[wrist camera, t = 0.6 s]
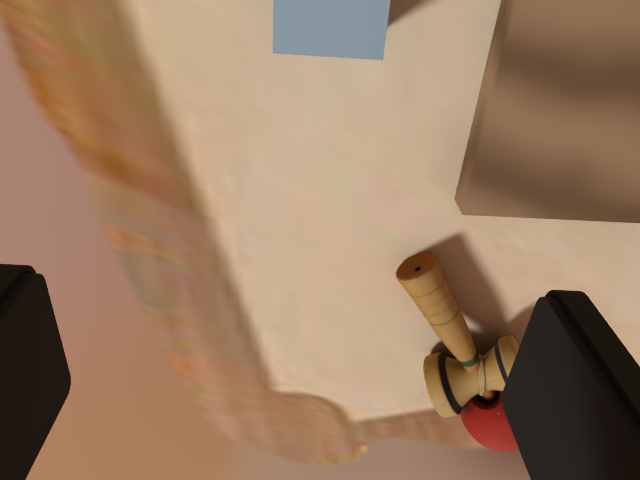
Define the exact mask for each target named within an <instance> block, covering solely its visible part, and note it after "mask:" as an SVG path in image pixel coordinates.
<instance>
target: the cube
mask: <svg viewBox="0 0 640 480" xmlns="http://www.w3.org/2000/svg"><path fill="white" fill-rule="evenodd" d="M390 1H391V0H274V5H273V53H276V54H292V55H309V56H325V57H341V58H358V59H374V60H383V56H384V48H385V40H386V32H387V24H388V16H389V8H390Z"/></svg>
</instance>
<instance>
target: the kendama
mask: <svg viewBox="0 0 640 480" xmlns="http://www.w3.org/2000/svg"><path fill="white" fill-rule="evenodd" d="M396 277H397V279H398V281H399V282H400V283H401V284H402V286H403V287H404V288H405V290H406V291H407V292H408V293H409V295H410V296H411V298H412V299H413V301H414V302H415V303H416V305H417V306H418V308H419V309H420V311H421V312H422V313H423V315H424V316H425V318H426V319H427V321H428V322H429V323H430V325H431V327H432V328H433V329H434V331H435V332H436V334H437V335H438V336H439V338H440V339H441V340H442V342H443V343H444V344H445V345H446V347H447V348H448V349H449V350H450V351H451V352H452V354H453V355H454V356H455V357H456V358H457V359H454V358H450V357H448V356H447V355H444V354H443V353H441V352H438V353H435V354H432V355H429V356H426V357H425V360H424V365H423V371H424V378H425V382H426V386H427V390H428V393H429V396H430V398H431V401H432V403H433V405H434V407H435V409H436V410H437V412H438V413H439V414H440V415H441V416H442V417H444V418H448V417H453V416H458V415H459V414H460V413H461V418H462V421H463V423H464V425H465V427H466V429H467V431H468V432H469V433H470V435H471V436H472V437H473V438H474V439H475V440H476V441H478V442H479V443H480V444H482V445H484V446H486V447H488V448H491V449H494V450H500V451H510V450H515V449H518V445H517V443H516V440H515V438H514V435H513V433H512V430H511V428H510V425H509V423H508V420H507V418H506V415H505V413H504V410H503V406H502V393H503V389H504V387H505V384H506V381H507V379H508V376H509V373H510V371H511V368H512V365H513V363H514V360H515V358H516V355H517V352H518V350H519V344H518V343H517V341H516V339H515V338H514V337H513V336H512V335H508V336H503V337H500V338H499V339H498V340H497V342H496V344H495V345H494V347H493V348H492V349H491V350H490V351H489V352H488V353H486V354H484V355H483V356H482V355H480V354H479V355H478V354H477V351H476V348H475V345H474V342H473V339H472V337H471V334H470V331H469V329H468V326H467V324H466V322H465V319H464V317H463V315H462V313H461V311H460V309H459V307H458V304H457V302H456V300H455V298H454V296H453V294H452V292H451V289H450V287H449V286H448V283H447V281H446V279H445V277H444V275H443V272H442V270H441V267H440V265H439V262H438V260H437V258H436V256H435V255H434V254H433V253H429V252H425V253H419V254H416V255H414V256H412V257H410V258H408V259H407V260H405V261H404V262H403V263H402V264H401V265H400V266H399V268H398V269H397V271H396Z"/></svg>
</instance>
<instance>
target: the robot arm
mask: <svg viewBox="0 0 640 480" xmlns="http://www.w3.org/2000/svg"><path fill="white" fill-rule="evenodd" d="M70 385H71V377H70V372H69V368H68V364H67V361H66V357H65V353H64V349H63V345H62V342H61V338H60V334H59V330H58V327H57V323H56V319H55V315H54V311H53V307H52V304H51V300H50V296H49V293H48V288H47V285H46V281H45V278H44V277H43V275H42V274H36V272H35V270H34V269H33V267H32V266H28V265H10V264H0V480H25V479H26V477H27V475H28V473H29V471H30V469H31V467H32V465H33V463H34V461H35V459H36V457H37V456H38V454H39V452H40V450H41V448H42V446H43V444H44V442H45V440H46V438H47V436H48V434H49V432H50V430H51V428H52V426H53V424H54V422H55V420H56V418H57V416H58V414H59V412H60V410H61V408H62V406H63V404H64V402H65V400H66V398H67V396H68V393H69V390H70ZM502 406H503V410H504V413H505V415H506V418H507V420H508V423H509V425H510V428H511V430H512V433H513V435H514V438H515V440H516V443H517V445H518V448H519V450H520V453H521V455H522V458H523V460H524V463H525V466H526V468H527V470H528V473H529V475H530V478H531V480H640V366H639V365H638V364H637V362H636V361H635V360H634V358H633V357H632V356H631V354H630V353H629V352H628V350H627V349H626V348H625V346H624V345H623V343H622V342H621V341H620V339H619V338H618V337H617V335H616V334H615V333H614V331H613V330H612V329H611V327H610V326H609V325H608V323H607V322H606V320H605V319H604V318H603V316H602V315H601V314H600V312H599V311H598V310H597V308H596V307H595V306H594V304H593V303H592V301H591V300H590V299H589V297H588V296H587V295H586V294H585V293H584V292H581V291H566V290H551V291H549V292H548V293H547V294H546V296H545V297H540V298H539V299H538V300H537V302H536V305H535V307H534V310H533V313H532V315H531V318H530V321H529V323H528V326H527V328H526V331H525V334H524V336H523V339H522V342H521V344H520V347H519V350H518V352H517V355H516V358H515V360H514V363H513V365H512V368H511V371H510V373H509V376H508V379H507V381H506V384H505V387H504V389H503V393H502Z"/></svg>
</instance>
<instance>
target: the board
mask: <svg viewBox="0 0 640 480" xmlns="http://www.w3.org/2000/svg"><path fill="white" fill-rule="evenodd" d="M455 201H456V203H457V205H458V207H459V209H460V211H461V213H462V215H478V216H500V217H521V218H542V219H563V220H585V221H606V222H627V223H640V0H501V4H500V8H499V13H498V17H497V21H496V25H495V30H494V34H493V38H492V42H491V47H490V51H489V55H488V59H487V64H486V68H485V72H484V76H483V81H482V85H481V89H480V93H479V98H478V102H477V106H476V110H475V115H474V119H473V123H472V127H471V132H470V136H469V140H468V144H467V149H466V153H465V157H464V161H463V165H462V170H461V174H460V178H459V182H458V187H457V191H456V195H455Z"/></svg>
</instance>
